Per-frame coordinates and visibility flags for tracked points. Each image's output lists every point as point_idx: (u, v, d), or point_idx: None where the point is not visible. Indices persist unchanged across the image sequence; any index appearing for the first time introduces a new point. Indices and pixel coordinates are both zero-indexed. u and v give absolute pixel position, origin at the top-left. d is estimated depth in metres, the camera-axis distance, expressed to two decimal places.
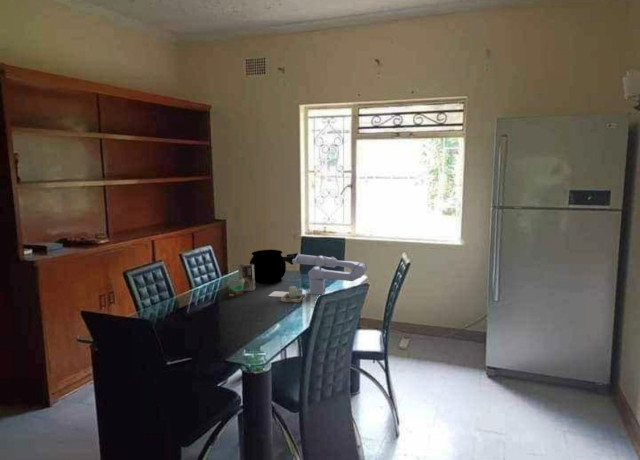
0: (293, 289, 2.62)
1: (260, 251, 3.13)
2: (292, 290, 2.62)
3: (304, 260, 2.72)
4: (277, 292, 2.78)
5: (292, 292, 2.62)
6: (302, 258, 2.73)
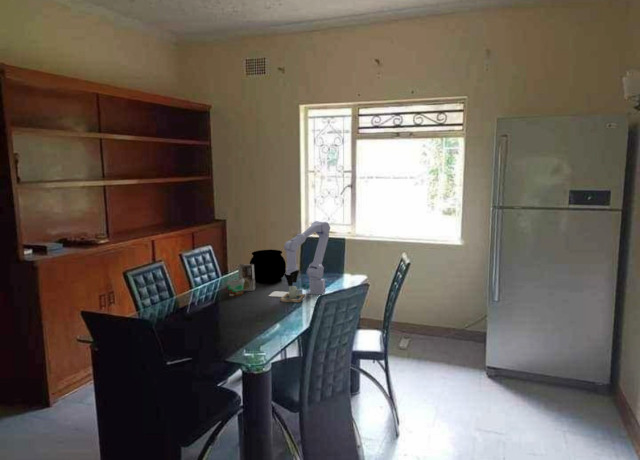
0: (293, 289, 2.62)
1: (260, 251, 3.13)
2: (292, 290, 2.62)
3: (290, 262, 2.59)
4: (277, 292, 2.78)
5: (292, 292, 2.62)
6: (288, 264, 2.60)
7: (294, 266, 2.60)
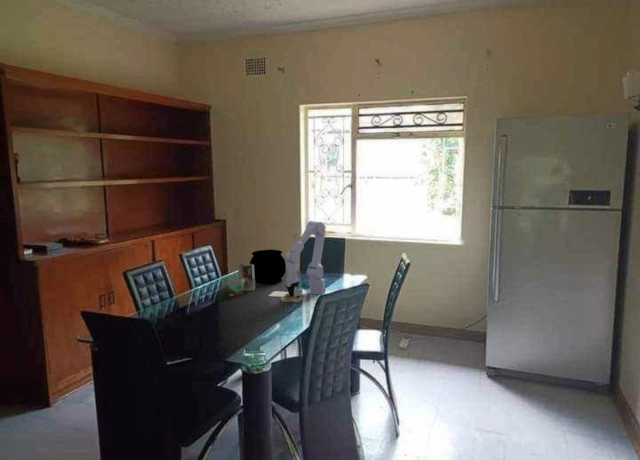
0: None
1: (260, 251, 3.13)
2: None
3: (290, 274, 2.60)
4: (277, 292, 2.78)
5: None
6: (289, 276, 2.61)
7: (294, 277, 2.61)
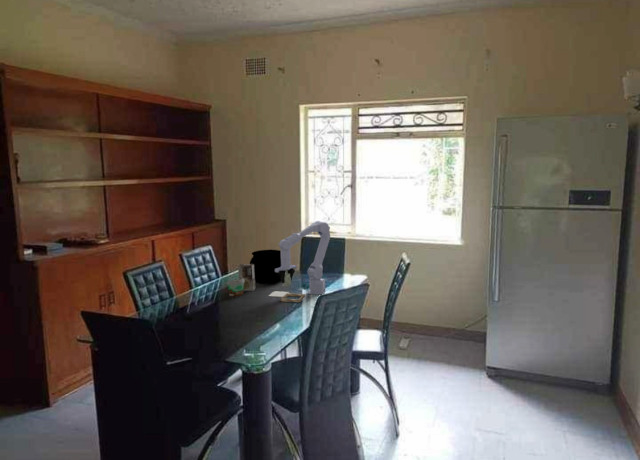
0: None
1: (260, 251, 3.13)
2: None
3: (281, 260, 2.64)
4: (277, 292, 2.78)
5: None
6: (281, 262, 2.65)
7: (285, 265, 2.63)
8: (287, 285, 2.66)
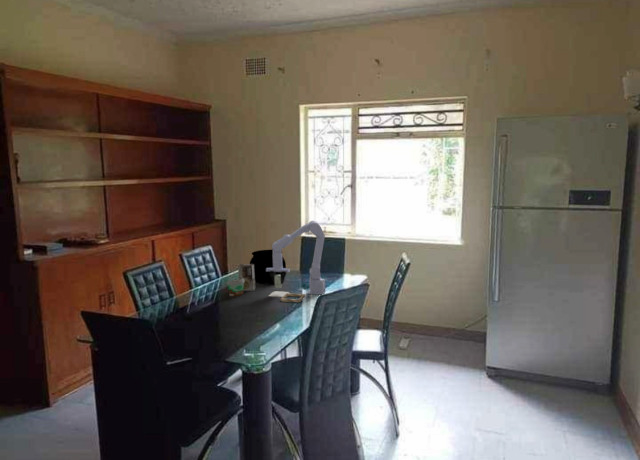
0: (274, 277, 2.72)
1: (260, 251, 3.13)
2: (274, 277, 2.73)
3: None
4: (277, 292, 2.78)
5: (274, 279, 2.73)
6: None
7: (273, 266, 2.70)
8: (276, 286, 2.72)
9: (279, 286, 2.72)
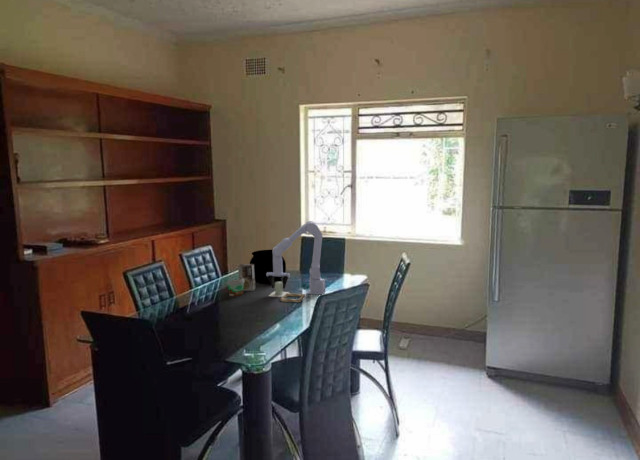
0: None
1: (260, 251, 3.13)
2: None
3: None
4: None
5: None
6: None
7: (274, 271, 2.71)
8: (276, 293, 2.73)
9: (279, 293, 2.72)
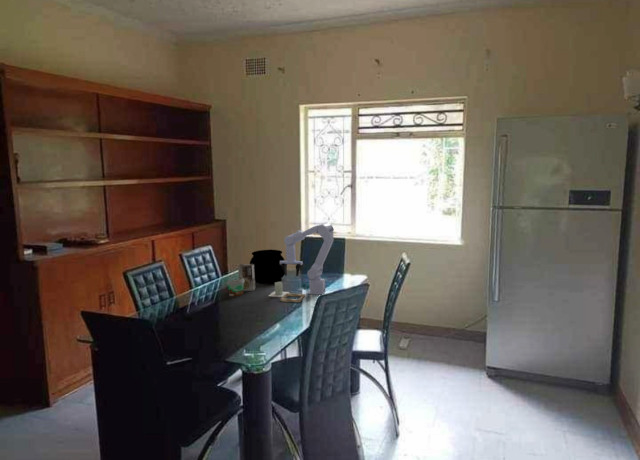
0: None
1: (260, 251, 3.13)
2: None
3: None
4: None
5: None
6: None
7: (287, 259, 2.79)
8: (276, 293, 2.73)
9: (279, 293, 2.72)
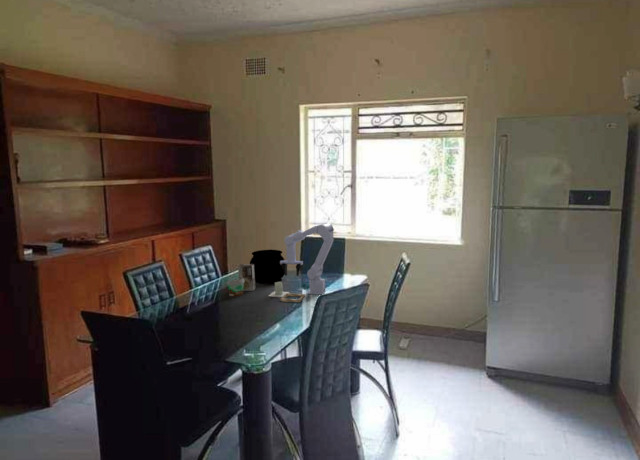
0: None
1: (260, 251, 3.13)
2: None
3: None
4: None
5: None
6: None
7: (287, 259, 2.79)
8: (276, 293, 2.73)
9: (279, 293, 2.72)
